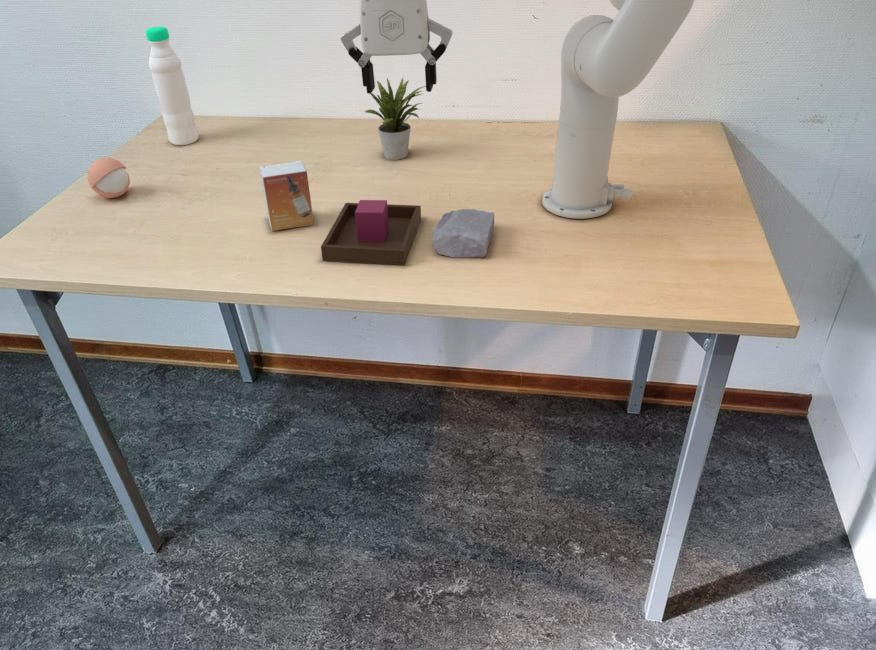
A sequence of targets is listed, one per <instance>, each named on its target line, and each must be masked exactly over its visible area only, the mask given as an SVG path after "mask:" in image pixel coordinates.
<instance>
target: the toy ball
mask: <svg viewBox="0 0 876 650" xmlns="http://www.w3.org/2000/svg"><path fill="white" fill-rule="evenodd" d="M126 169H127V167H126V165H125V164H124V163H122V162H121V161H120V160H118V159H115V158H113V157H100V158H97V159H96V160H94V161H93V162H92V163H91V164H90V166H89V167H88V170H87V181H88V184H89V186H90V188H91V189H92V190H93V191H94V192H95V193H96V194H97V195H99V196H101V197H103V198H106V199H107V198H108V199H115V198H118V197H121V196H122V195H124V194H125V193H126V192H127V191H128V190H129V187H130V184H131V178H130V176H129V174H128V172H127V170H126Z"/></svg>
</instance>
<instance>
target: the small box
mask: <svg viewBox="0 0 876 650" xmlns="http://www.w3.org/2000/svg"><path fill="white" fill-rule="evenodd" d="M258 169H259V174H260V180H261V186H262V192H263V197H264V203H265V209H266V214H267V220H268V222H269V227H270V230H271V232H276V231H279V230H286V229H295V228H300V227H310V226H314V224H315V222H314V212H313V207H312V206H313V205H312V199H311V191H310V185H309V178H308V171H307V169H306V166H305V164H304V162H303V160H302V159H300V160H295V161H290V162H284V163H283V162H282V163H275V164H270V165H260V166H259V167H258Z"/></svg>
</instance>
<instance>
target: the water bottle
mask: <svg viewBox="0 0 876 650" xmlns="http://www.w3.org/2000/svg"><path fill="white" fill-rule="evenodd" d="M145 37H146V40H147V42H148V43H149V44H150V51H149V58H148V68H149V70H150V72H151V77H152V81H153V86H154V90H155V93H156V94H155V95H156V97H157V100H158V103H159V104H158V105H159V106H160V109H161V113H162V119H163V123H164V125H165V127H166V134H167V138H168V141H169V143H170V144H172V145H175V146H186V145H190V144H193V143H195V142H197V141H198V139H199V137H200V135H199V130H198V127H197V125H196V121H195V115H194V111H193V109H192V104H191V99H190V95H189V90H188V86H187V82H186V78H185V75H184V72H183V69H182V61H181V59H180V56H178V55H177V53H176V52H175V50H174V49H173V47H171V45H170V33H169V30H168V29H167V27H165V26H151V27H148V28H147V29H146V30H145Z"/></svg>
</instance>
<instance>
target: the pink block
mask: <svg viewBox="0 0 876 650" xmlns="http://www.w3.org/2000/svg"><path fill="white" fill-rule="evenodd" d="M357 203H358V206H357V209H356V211H355V217H356V227H357V237H358V242H385V241H386V237H387V234H388V230H389V224H388V209H387V204H388V200H387V199H359V201H358V202H357Z"/></svg>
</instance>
